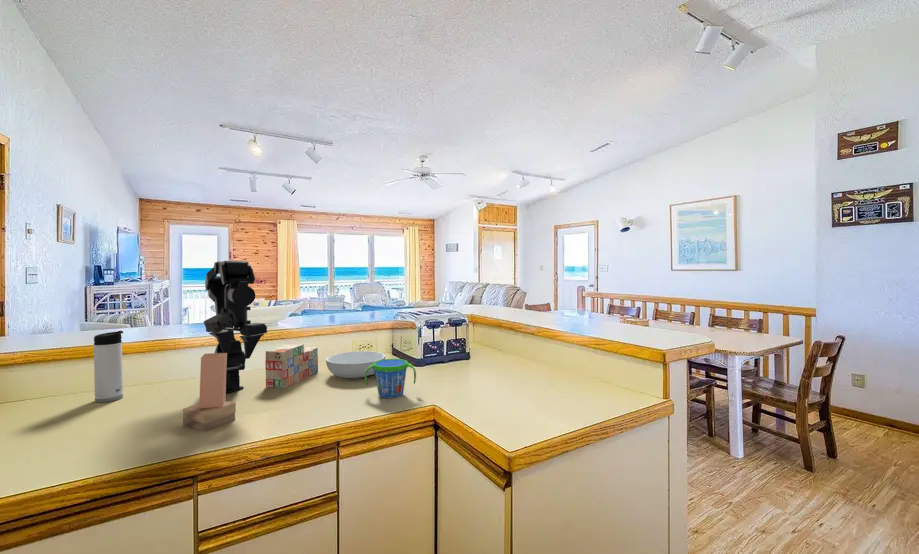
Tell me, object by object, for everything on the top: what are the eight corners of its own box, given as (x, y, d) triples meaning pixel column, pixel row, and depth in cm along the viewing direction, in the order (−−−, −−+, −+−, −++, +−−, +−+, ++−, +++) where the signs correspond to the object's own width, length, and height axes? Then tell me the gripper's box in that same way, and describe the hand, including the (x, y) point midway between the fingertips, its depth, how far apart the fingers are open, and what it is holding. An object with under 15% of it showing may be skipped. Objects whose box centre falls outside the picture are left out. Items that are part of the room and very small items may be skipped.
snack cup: (361, 400, 118) (360, 366, 118) (369, 389, 128) (369, 358, 128) (413, 401, 118) (413, 366, 117) (417, 390, 128) (417, 358, 128)
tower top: (183, 418, 98) (182, 408, 98) (213, 408, 106) (213, 398, 106) (206, 423, 95) (206, 413, 95) (235, 412, 103) (235, 402, 103)
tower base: (183, 428, 99) (182, 418, 99) (213, 417, 106) (213, 407, 106) (204, 433, 95) (204, 423, 95) (235, 421, 103) (235, 412, 103)
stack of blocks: (303, 371, 151) (303, 338, 151) (318, 372, 150) (318, 339, 150) (265, 388, 130) (265, 350, 130) (282, 389, 129) (282, 351, 129)
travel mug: (125, 398, 119) (124, 331, 118) (96, 404, 114) (94, 334, 113) (122, 394, 123) (121, 329, 123) (93, 399, 118) (92, 332, 118)
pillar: (202, 402, 102) (204, 353, 102) (225, 400, 104) (227, 352, 104) (199, 408, 98) (200, 357, 98) (222, 406, 100) (224, 356, 100)
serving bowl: (367, 365, 160) (367, 348, 160) (396, 376, 145) (396, 357, 145) (316, 374, 146) (316, 356, 146) (342, 387, 131) (342, 366, 131)
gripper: (187, 304, 113) (187, 359, 113) (232, 307, 105) (233, 366, 106) (224, 301, 123) (224, 352, 123) (268, 304, 115) (268, 357, 116)
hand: (236, 357), depth 117 cm, fingers open, 9 cm apart
